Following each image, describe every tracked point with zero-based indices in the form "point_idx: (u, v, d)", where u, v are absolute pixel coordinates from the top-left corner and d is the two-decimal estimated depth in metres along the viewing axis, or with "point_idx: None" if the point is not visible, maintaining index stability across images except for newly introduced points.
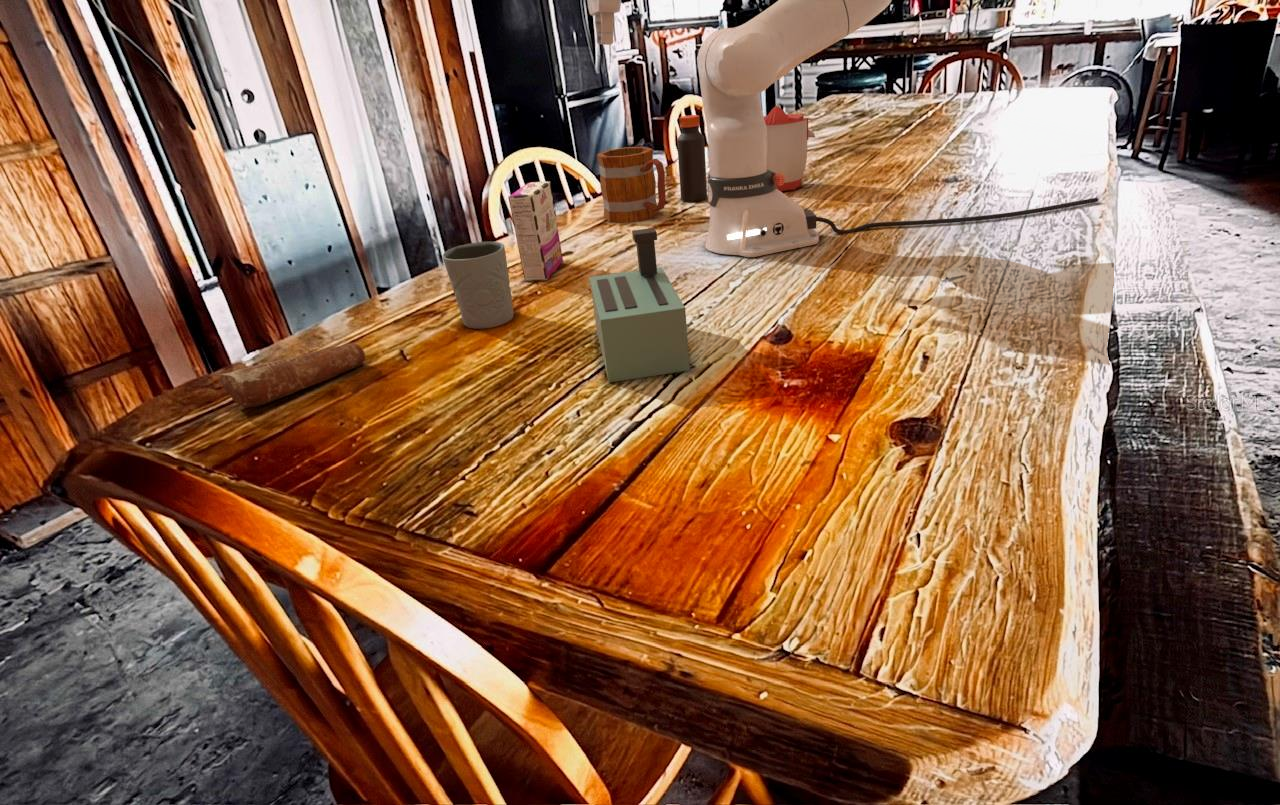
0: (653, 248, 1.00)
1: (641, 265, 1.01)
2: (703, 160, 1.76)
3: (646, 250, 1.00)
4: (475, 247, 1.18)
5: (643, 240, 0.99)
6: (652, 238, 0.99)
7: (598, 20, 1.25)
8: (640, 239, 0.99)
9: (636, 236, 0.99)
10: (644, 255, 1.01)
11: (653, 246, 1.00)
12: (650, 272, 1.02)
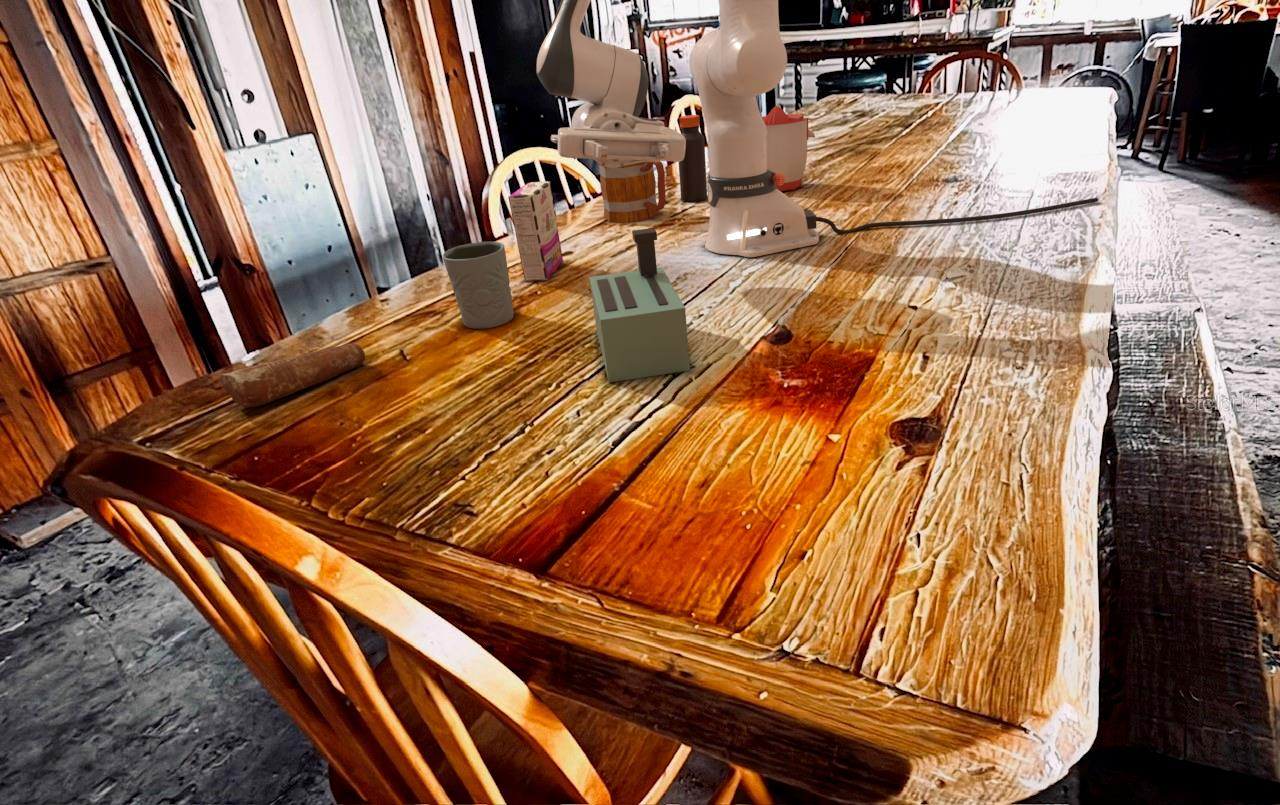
0: (653, 248, 1.00)
1: (641, 265, 1.01)
2: (703, 160, 1.76)
3: (646, 250, 1.00)
4: (475, 247, 1.18)
5: (643, 240, 0.99)
6: (652, 238, 0.99)
7: None
8: (640, 239, 0.99)
9: (636, 236, 0.99)
10: (644, 255, 1.01)
11: (653, 246, 1.00)
12: (650, 272, 1.02)
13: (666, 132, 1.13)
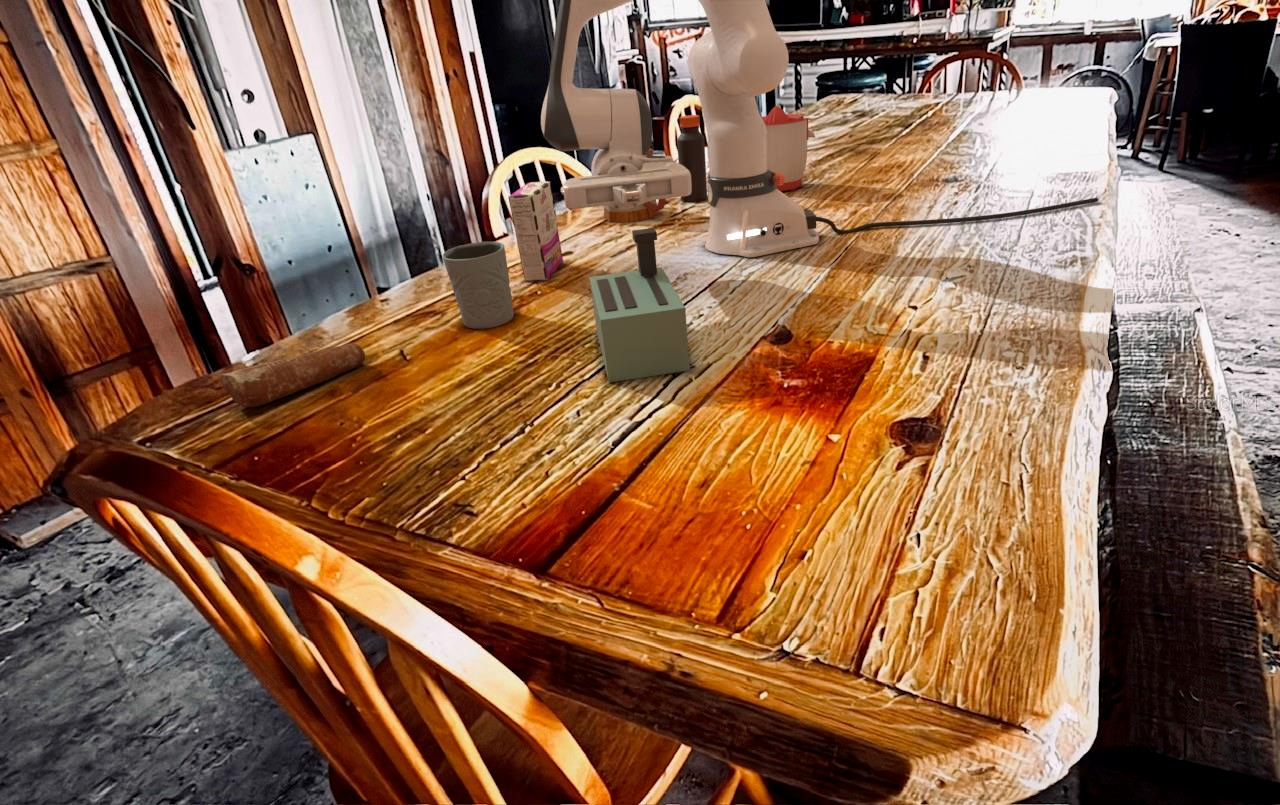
0: (653, 248, 1.00)
1: (641, 265, 1.01)
2: (703, 160, 1.76)
3: (646, 250, 1.00)
4: (475, 247, 1.18)
5: (643, 240, 0.99)
6: (652, 238, 0.99)
7: None
8: (640, 239, 0.99)
9: (636, 236, 0.99)
10: (644, 255, 1.01)
11: (653, 246, 1.00)
12: (650, 272, 1.02)
13: (673, 168, 1.13)
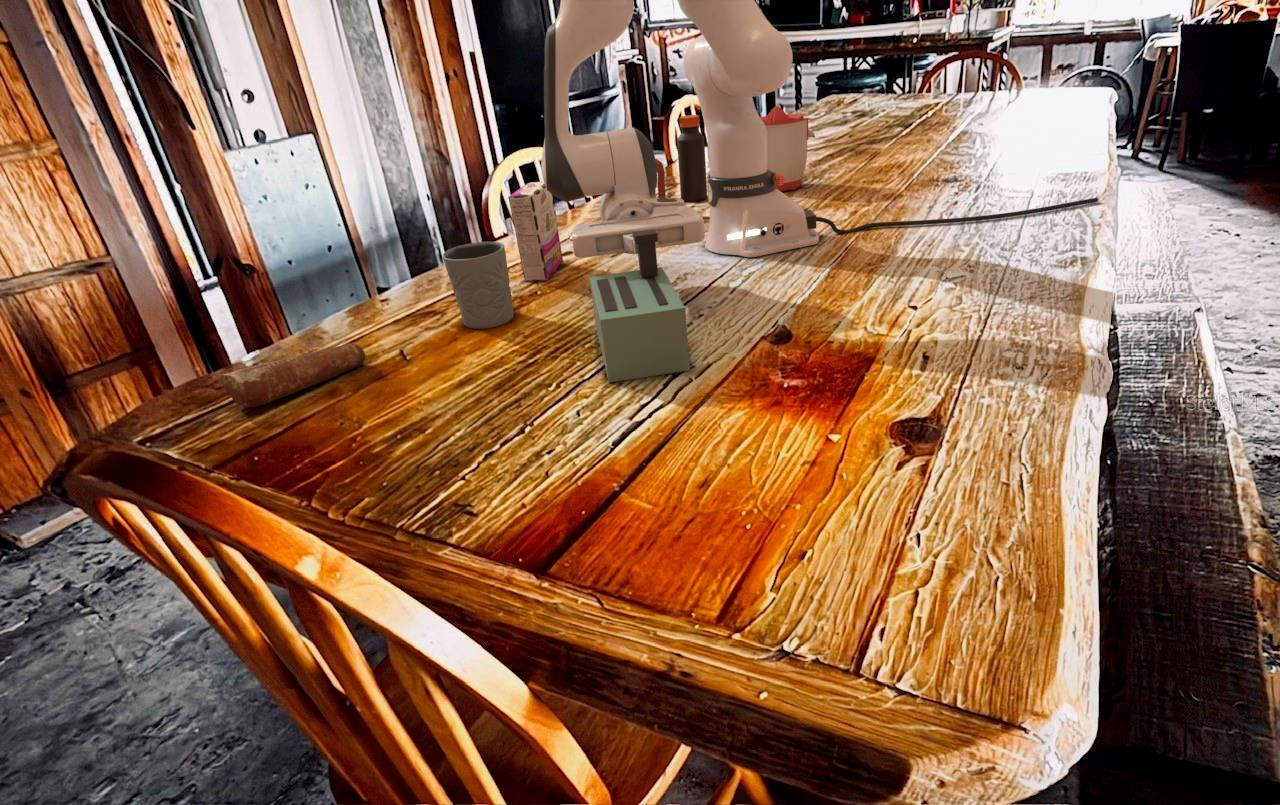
0: (654, 249, 1.00)
1: (642, 267, 1.01)
2: (703, 160, 1.76)
3: (647, 252, 1.00)
4: (475, 247, 1.18)
5: (644, 241, 0.99)
6: (653, 239, 0.99)
7: None
8: (641, 240, 0.99)
9: (636, 238, 0.98)
10: (644, 256, 1.00)
11: (654, 247, 0.99)
12: (650, 274, 1.01)
13: (685, 212, 1.09)
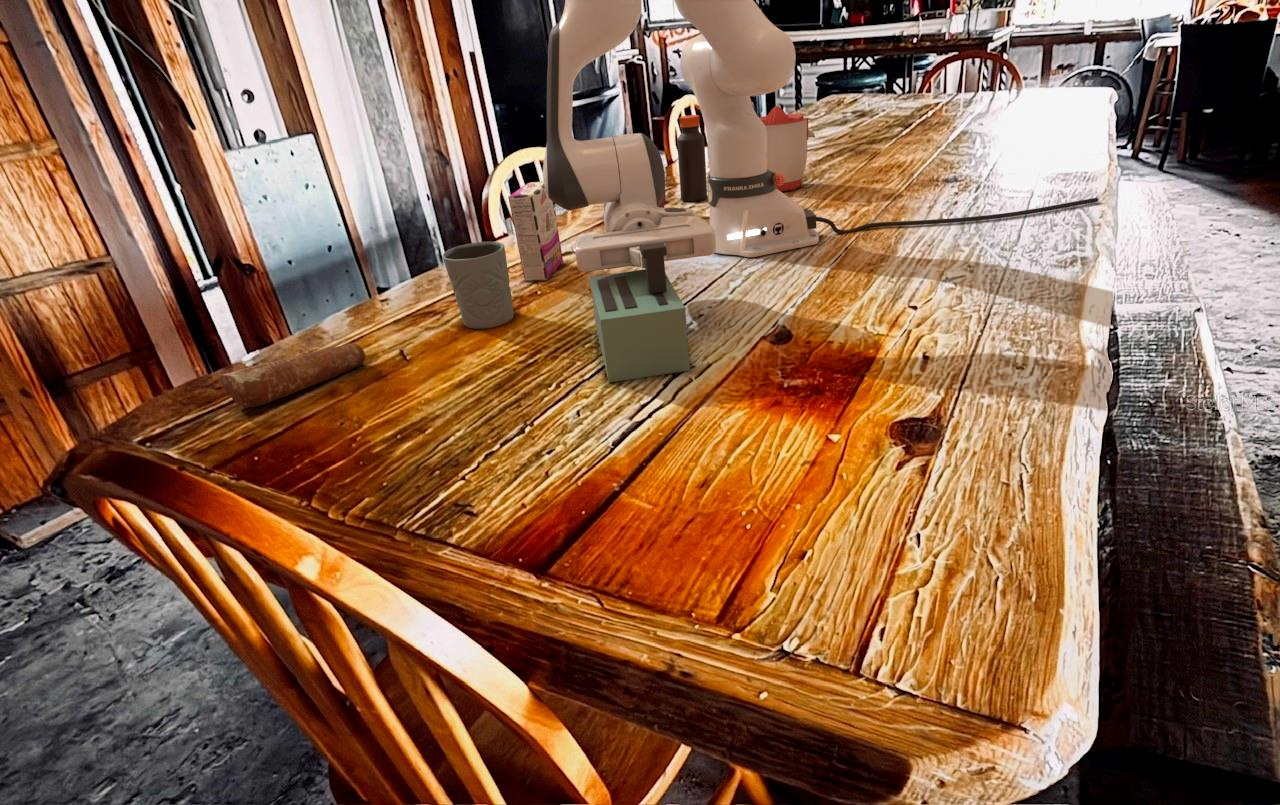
0: (662, 264, 0.93)
1: (649, 282, 0.94)
2: (703, 160, 1.76)
3: (655, 267, 0.93)
4: (475, 247, 1.18)
5: (652, 255, 0.93)
6: (661, 253, 0.92)
7: None
8: (649, 254, 0.92)
9: (644, 252, 0.92)
10: (652, 271, 0.94)
11: (662, 262, 0.93)
12: (659, 290, 0.95)
13: (694, 223, 1.03)
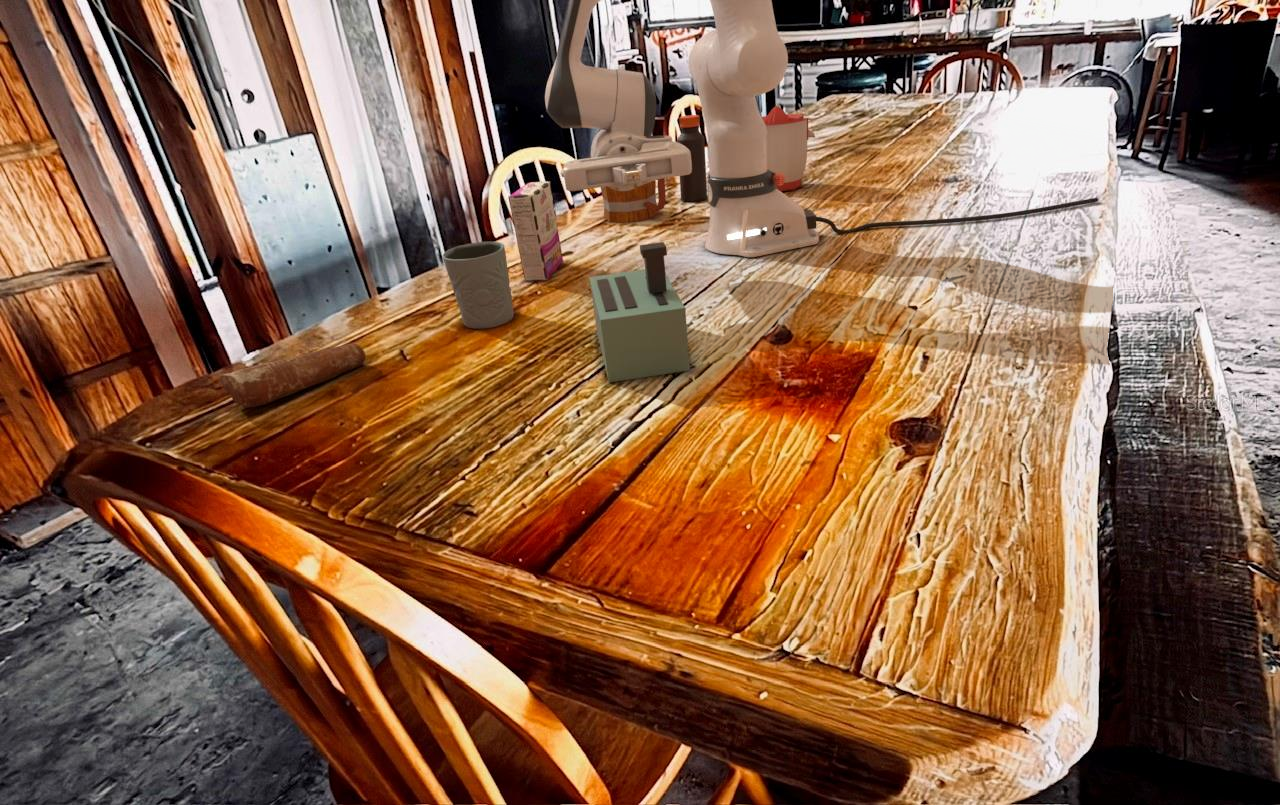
0: (662, 264, 0.93)
1: (649, 282, 0.94)
2: (703, 160, 1.76)
3: (655, 267, 0.93)
4: (475, 247, 1.18)
5: (652, 255, 0.92)
6: (661, 253, 0.92)
7: None
8: (649, 254, 0.92)
9: (644, 252, 0.92)
10: (652, 271, 0.94)
11: (662, 262, 0.93)
12: (659, 290, 0.95)
13: (672, 147, 1.13)
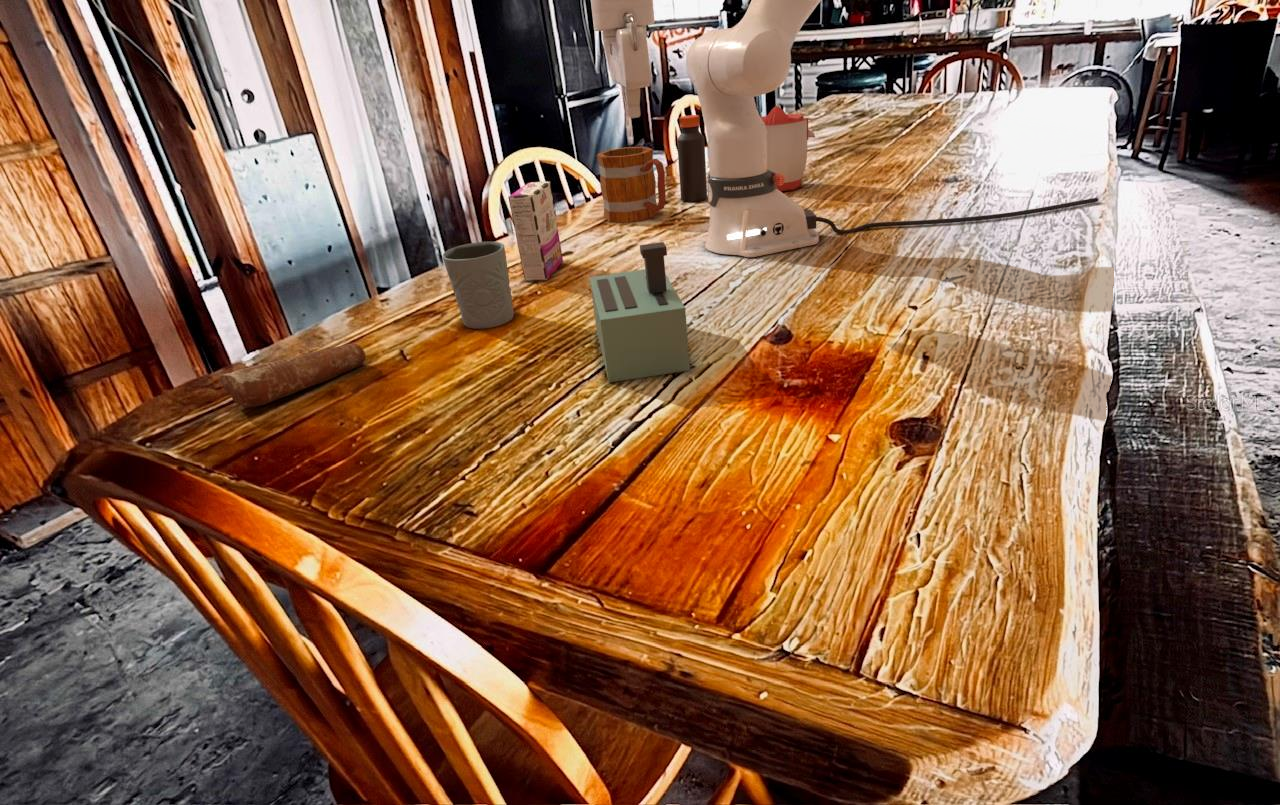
0: (662, 264, 0.93)
1: (649, 282, 0.94)
2: (703, 160, 1.76)
3: (655, 267, 0.93)
4: (475, 247, 1.18)
5: (652, 255, 0.92)
6: (661, 253, 0.92)
7: None
8: (649, 254, 0.92)
9: (644, 252, 0.92)
10: (652, 271, 0.94)
11: (662, 262, 0.93)
12: (659, 290, 0.95)
13: None
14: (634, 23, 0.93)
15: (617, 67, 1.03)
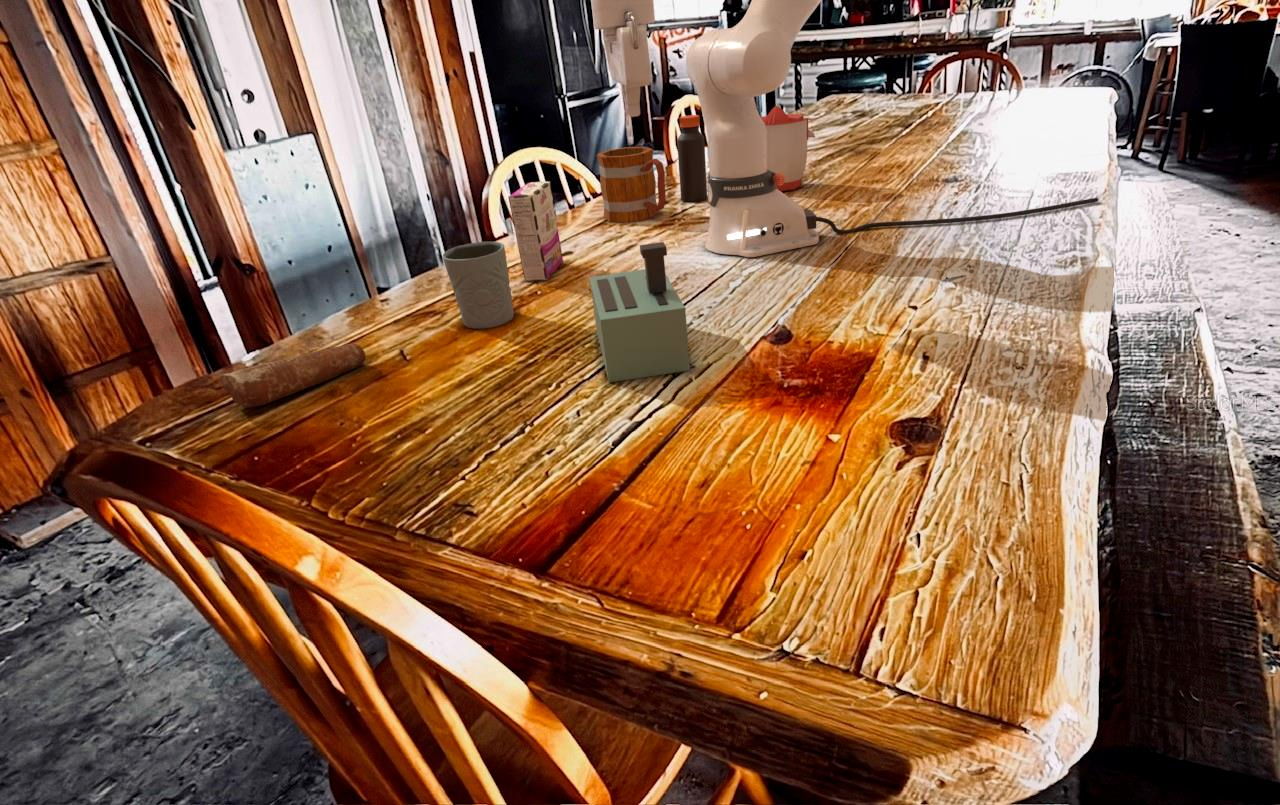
0: (662, 264, 0.93)
1: (649, 282, 0.94)
2: (703, 160, 1.76)
3: (655, 267, 0.93)
4: (475, 247, 1.18)
5: (652, 255, 0.92)
6: (661, 253, 0.92)
7: None
8: (649, 254, 0.92)
9: (644, 252, 0.92)
10: (652, 271, 0.94)
11: (662, 262, 0.93)
12: (659, 290, 0.95)
13: None
14: (634, 21, 0.93)
15: (617, 66, 1.03)
